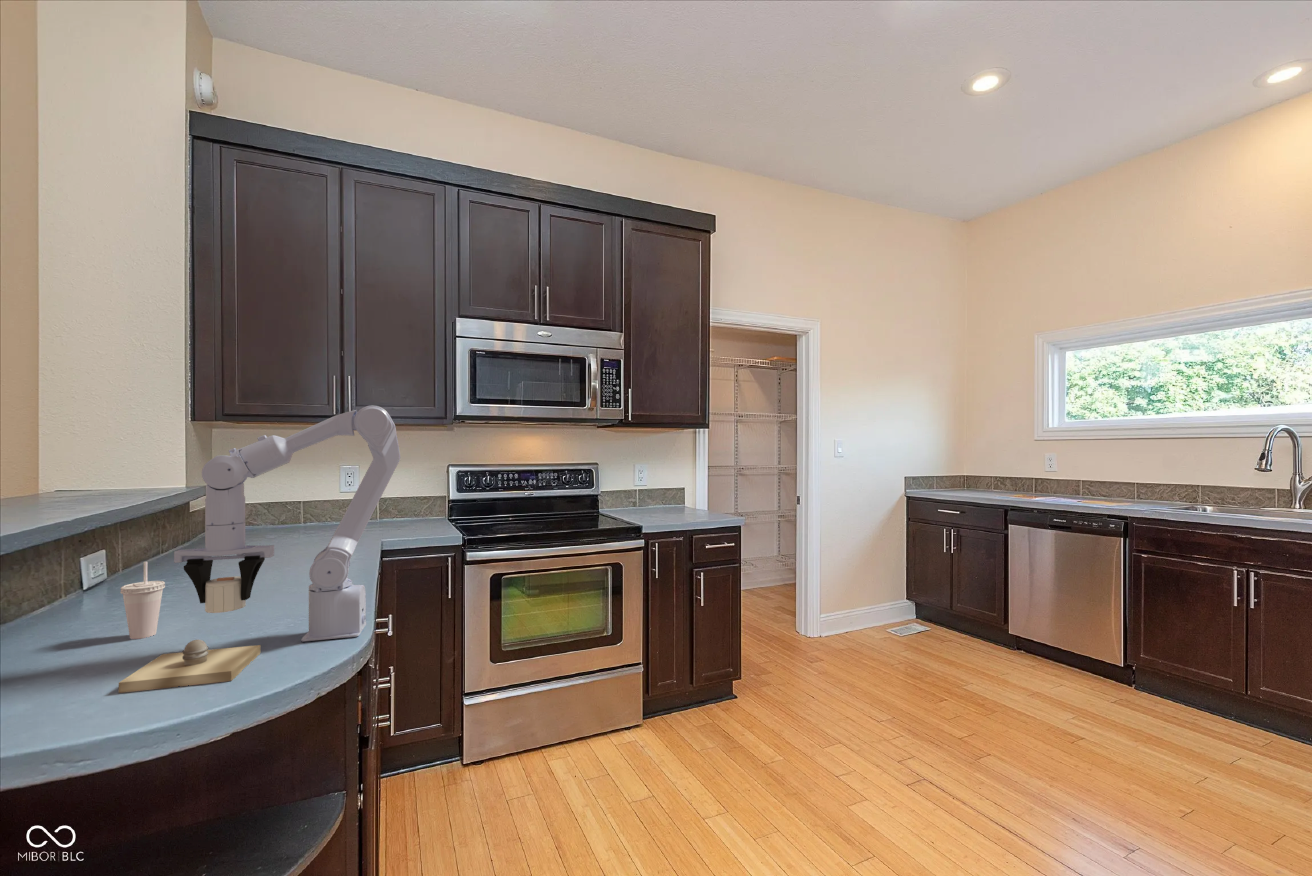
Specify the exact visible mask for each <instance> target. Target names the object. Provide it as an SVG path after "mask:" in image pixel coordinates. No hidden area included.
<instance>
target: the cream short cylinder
mask: <svg viewBox="0 0 1312 876" xmlns="http://www.w3.org/2000/svg"><path fill="white" fill-rule="evenodd" d="M246 604H247V603H246V600H241V575H239V576H236V575H235V576H234V575H233V576H226V577H225V576H224V577H218V578H213V579H210V580H209V581H207V582H206V585H205V603H204V611H205V613H209V614H218V613H227V612H232V611H237V610H240V609H244V608H245V607H246Z"/></svg>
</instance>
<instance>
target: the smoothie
mask: <svg viewBox="0 0 1312 876" xmlns="http://www.w3.org/2000/svg"><path fill="white" fill-rule="evenodd" d="M165 588H166V582H165V581H163V580H151V581H150V580H148V561H143V581H140V582H133V583H130V584H129V583H128V584H125V585H122V586H121V587H120V592H119V593H120V594H121V595H122V598H123V603H124V611H125V616H126V623H127V628H128V634H129V638H130V639H131V640H141V639H147V638H151V637H153V635H154V636H155V635H157V631H158V630H157V629H158V623H159V618H160V610H161V604H162V598H163V589H165ZM150 636H151V637H150ZM146 637H147V638H146Z"/></svg>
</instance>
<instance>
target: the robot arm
mask: <svg viewBox="0 0 1312 876" xmlns="http://www.w3.org/2000/svg"><path fill="white" fill-rule="evenodd" d="M354 431H356V432H357V433H358V435H360V436H361V438H362V439H363V440H364V441H365V442H366V443H367V446H368V449H369V451H370V453H371V456H372V461H371V463H370V465H369V467H368V468H367V469H366V470H367V471H366V472H365V474H364V476H363V477H362V480H361V481H360V484H359V485H358V488H357V490H355V491H356V492H355V493H354V496H353V497H352V499H351V501H350V503H349V504H348V506H347V508H346V510H345V513H344V514H343V516H342V518H341V520H340V522H339V524H338V525H337V528H336V530H335V531H334V533H333V535H332V537H331V538H330V540H329V542H328V544H327V545H326V547H325V548H324V549H323V550H321V551H320V552H319V553H317V554H316V556H315V557H314V560H313V563H312V564H311V566H310V568H309V573H308V577H309V580H310V582H311V584H310V585H308V631H307V632H306V633H305V634H304V635H303V636H302V638H301V639H300V640H301V642H311V641H323V640H334V639H344V638H354V637H355V638H356V637H359V636H360V635H361V633H362V632H363V630H364V628H365V627H366V626H367V620H366V619H367V617H366V615H367V614H366V612H367V611H366V610H367V606H366V604H367V603H366V602H367V600H366V597H367V595H366V587H365V585H364V584H353V580H352V579H350V578H349V568H350V566H351V559H352V556H353V554H354V552H355V550H356V548H357V545H358V543H359V541H360V539H361V537H362V536H363V533H364V531H365V529H366V527H367V525H368V523H369V522H370V519H371V518H372V515H373V513H374V512H375V509H376V507H377V506H378V504H379V502H380V500H381V497H382V496H383V494H384V493H385V490H386V488H387V486H388V484H389V482H390V480H391V478H392V477H393V476H394V475H393V474H394V473H395V471H396V469H397V467H398V465H399V463H400V461H401V451H400V446H399V440H398V436H397V435H398V434H397V429H396V425H395V423H394V421H393V419H392V417H391V415H390V414H389V412H388V411H387V410H386V409H384V408H383V407H381V406H379V405H367V406H364V407H362V408H360V409H359V410H357V409H355V410H350V411H346V412H343V413H340V414H336V415H333V416H332V417H330V418H326V419H325V420H322V421H321V422H318V423H315V424H313V425H311V426H309V427H307V428H305V429H303V430H299V431H298V432H296V433H293V434H291V435H289V436H287V437H282V436H279V435H274V434H272V435H269V436H267V435H266V434H263V435H260V436H258V437H257V440H258V441H255V442H253V443H249V444H248V445H245V446H242V447H240V448H236V447H234V448H230V449H229V450H228V453H229V455H226V454H225V455H223V454H222V455H219V454H218V455H216V456H214V457H213V458H210V459H209V460H207V462H206V463H205V464H204V465H203V467H202V470H201V478H202V480H203V481H204V483H205V484H206V485H205V500H204V502H205V504H204V505H205V507H204V509H205V510H204V513H205V514H204V522H205V523H204V524H205V525H204V527H205V529H204V538H205V542H204V547H203V548H202V547H201V548H189V549H186V548H185V549H179V550H175V551H174V552H173V559H174V560H173V562H174V563H175V564H176V563H183V562H186V564H184V566H183V570H184V572H185V573H186V574H187V575H188V578H190V581H191V582H192V584H193V585H194V588H195V590H196V593H197V597H198V600H199V604H205V585H206V582H207V581H209V580H211V575H212V567H213V562H214V561H216V560H217V561H219V560H236V559H237V560H238V559H242V560H240V561H238V567H239V573H240V575H239V576H240V577H241V600H249V599H251V595H252V590H253V586H254V584H255V580H256V578H257V575H258V574H259V572H260V569H261V568H262V565H263V563H264V561H265V559H266V558H272V557H274V556H275V545H274V544H272V545H270V544H269V545H268V544H266V545H264V544H263V545H250V544H249V545H247V544H246V496H245V482H246V480H247V479H248V478H250V479H255V478H257V477H259V476H262V475H264V474H266V473H269V472H271V471H274V470H275V469H278V468H280V467H283V466H284V465H288V464H290V462H291V461H292V457H293V454H295V453H297V452H299V451H301V450H304V449H308V448H309V447H311V446H314V445H317V444H319V443H321V442H324V441H326V440H329V439H332V438H334V437H337V436H344V437H345V436H349V437H352V436H353V437H354V436H355V432H354Z"/></svg>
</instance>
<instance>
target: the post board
mask: <svg viewBox="0 0 1312 876" xmlns="http://www.w3.org/2000/svg"><path fill="white" fill-rule="evenodd" d="M261 651H262V650H261V644H258V645H246V646H236V647H226V648H224V647H223V648H213V649H209V646H208V645H207V643H206V642H205V641H204V640H202V639H193V640H190V641H189V642H188V643H187V644H186V645H185V647H184V650H182V651H181V652H173V653H172V652H170V653H162V654H161V655H159V656H158V657H156V658H154V659H153V660H151V661H150V662H148V663H147V664H145V665H143V666H142V667H140V668H139V669H138V670H136V671H134V672H133V673H131V674H130V675H129V676H127V677H125V678H124V679H122V680H121V681H119V682H118V694H122V693H132V692H133V693H134V692H139V691H140V692H141V691H143V692H144V691H150V690H159V689H169V688H171V689H172V688H178V686H180V687H187V686H188V685H189V686H196V685H207V684H215V683H217V684H218V683H224V682H226V683H227V682H232V681H233V680H234V679H235V678H236V677H238V676H239V675H240V674H241V673H242V672H243V671H244V670H245V669H246V668H247V667H248V666H249V665H251V663H252V662H253V661H255V660H256V659H257V658H258V657H259V656H260V655H261V654H260V653H261ZM258 655H259V656H258ZM257 656H258V657H257ZM251 661H252V662H251ZM250 662H251V663H250ZM247 665H248V666H247ZM246 666H247V667H246ZM245 667H246V668H245ZM244 668H245V669H244ZM243 669H244V670H243ZM242 670H243V671H242Z"/></svg>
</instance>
